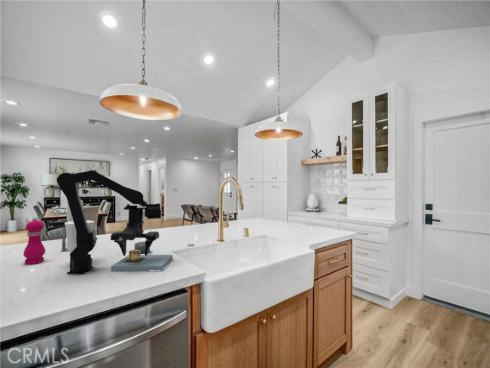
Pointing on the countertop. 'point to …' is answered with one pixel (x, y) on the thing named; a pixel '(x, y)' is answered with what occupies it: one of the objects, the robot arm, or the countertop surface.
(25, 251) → the pepper mill
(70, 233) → the cup
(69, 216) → the skyscraper
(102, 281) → the countertop surface
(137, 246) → the black coupling
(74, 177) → the robot arm
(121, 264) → the socket board
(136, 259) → the brass fitting
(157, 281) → the countertop surface
